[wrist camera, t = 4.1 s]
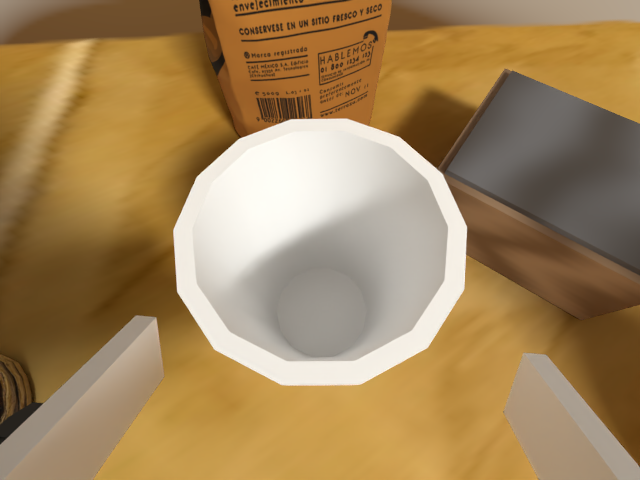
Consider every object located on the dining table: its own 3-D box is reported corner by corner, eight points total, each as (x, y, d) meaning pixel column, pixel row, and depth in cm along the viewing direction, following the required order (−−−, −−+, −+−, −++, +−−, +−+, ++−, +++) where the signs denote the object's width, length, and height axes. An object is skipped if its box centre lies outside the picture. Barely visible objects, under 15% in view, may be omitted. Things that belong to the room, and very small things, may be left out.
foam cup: (244, 263, 24) (167, 142, 12) (367, 236, 25) (407, 97, 13) (266, 405, 20) (185, 429, 8) (409, 368, 21) (520, 342, 9)
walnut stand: (409, 221, 25) (435, 171, 20) (470, 129, 29) (507, 63, 23) (580, 320, 22) (672, 296, 16) (625, 202, 26) (714, 148, 20)
